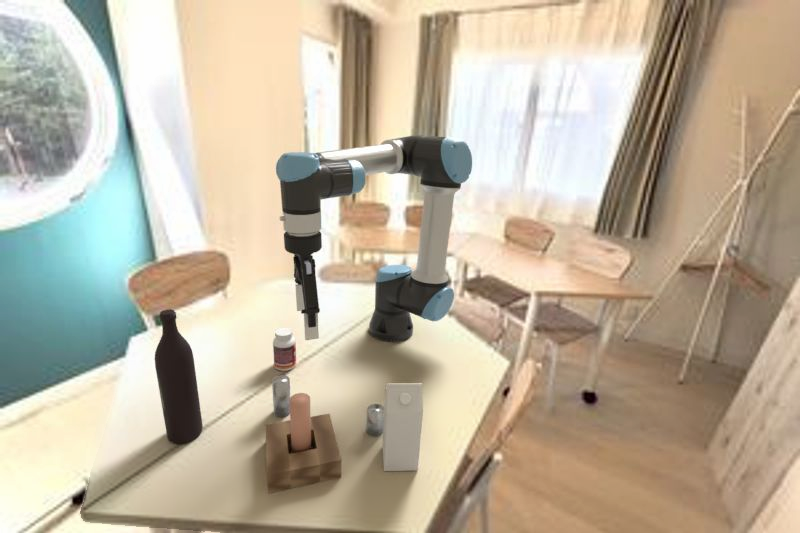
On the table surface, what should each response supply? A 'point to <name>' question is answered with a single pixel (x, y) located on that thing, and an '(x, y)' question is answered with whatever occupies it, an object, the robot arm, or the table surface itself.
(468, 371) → the table surface
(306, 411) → the long pin
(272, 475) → the hole block
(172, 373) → the wine bottle
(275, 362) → the pill bottle
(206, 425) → the table surface
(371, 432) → the short pin
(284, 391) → the medium pin
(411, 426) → the milk carton
